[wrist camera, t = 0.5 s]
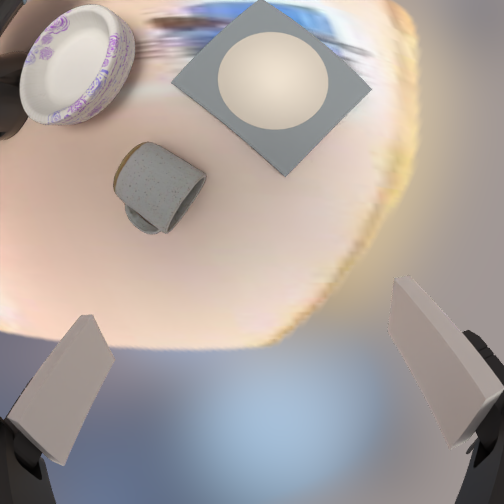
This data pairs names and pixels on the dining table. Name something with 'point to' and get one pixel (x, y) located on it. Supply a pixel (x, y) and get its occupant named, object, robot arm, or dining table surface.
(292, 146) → the board
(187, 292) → the dining table surface
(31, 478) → the robot arm
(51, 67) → the paper bowls
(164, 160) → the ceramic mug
